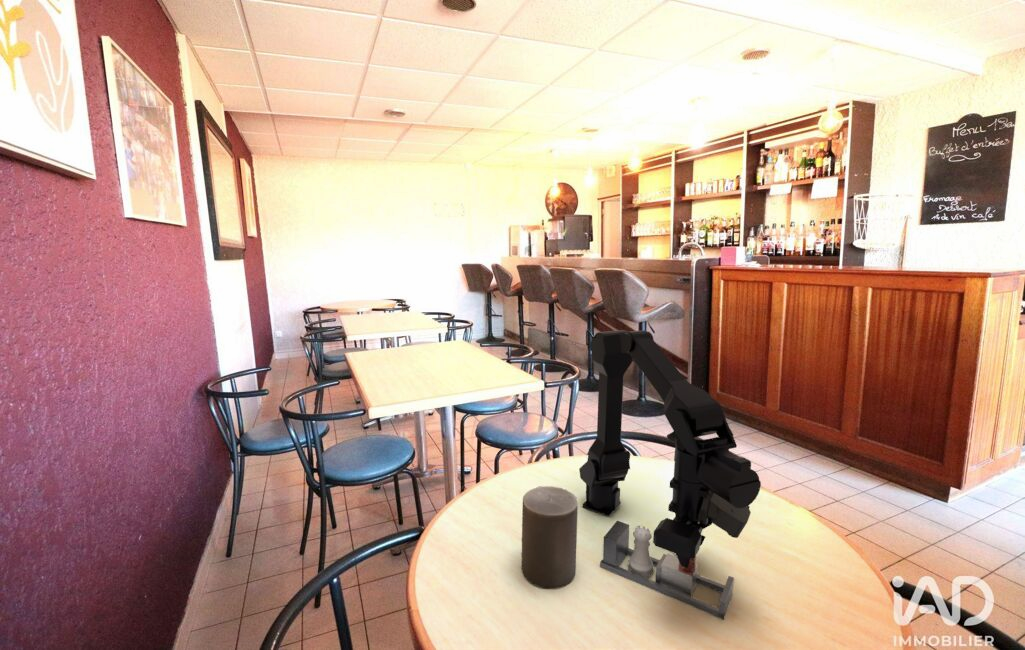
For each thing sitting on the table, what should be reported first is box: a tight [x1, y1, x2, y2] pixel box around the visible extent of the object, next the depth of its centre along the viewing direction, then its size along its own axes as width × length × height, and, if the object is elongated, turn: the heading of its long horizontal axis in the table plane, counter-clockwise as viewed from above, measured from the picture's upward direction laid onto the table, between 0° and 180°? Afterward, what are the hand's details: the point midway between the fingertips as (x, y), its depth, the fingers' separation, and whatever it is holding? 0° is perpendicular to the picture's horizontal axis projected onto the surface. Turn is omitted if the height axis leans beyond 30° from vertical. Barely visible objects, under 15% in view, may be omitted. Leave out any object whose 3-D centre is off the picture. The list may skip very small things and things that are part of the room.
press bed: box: [599, 520, 735, 621], centre depth 81 cm, size 21×7×6 cm, turn 55°
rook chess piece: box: [627, 525, 655, 579], centre depth 83 cm, size 4×4×8 cm
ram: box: [654, 552, 699, 597], centre depth 79 cm, size 6×4×10 cm
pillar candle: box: [521, 485, 579, 590], centre depth 83 cm, size 10×10×15 cm
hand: (687, 561), depth 78 cm, fingers closed on ram, 3 cm apart
